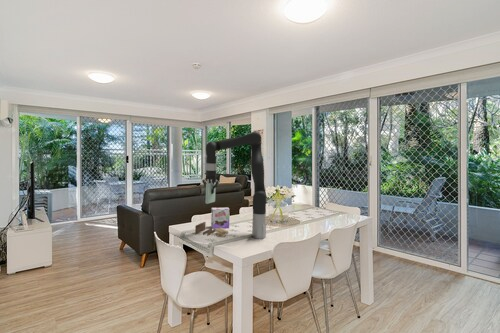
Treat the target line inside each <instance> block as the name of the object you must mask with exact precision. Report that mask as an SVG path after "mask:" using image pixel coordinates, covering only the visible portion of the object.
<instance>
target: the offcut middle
mask: <svg viewBox="0 0 500 333" xmlns="http://www.w3.org/2000/svg"><path fill="white" fill-rule="evenodd" d="M225 236H226V234H223V235H222V234H220V233H218V232H217V237H218V238H221V237H222V238H223V237H225Z"/></svg>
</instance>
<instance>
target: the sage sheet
mask: <svg viewBox="0 0 500 333" xmlns="http://www.w3.org/2000/svg"><path fill="white" fill-rule="evenodd" d="M206 183H207V182H206ZM215 184H216V182H215ZM216 189H217V187H216V188H214V193H213V194H211V183H207V184H206V187H205V204H206V205H208V204H212V203H215V202H216Z"/></svg>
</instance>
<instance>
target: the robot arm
mask: <svg viewBox="0 0 500 333" xmlns="http://www.w3.org/2000/svg"><path fill="white" fill-rule="evenodd" d="M244 145H245V146H246V145H250V171H251V177H252V181H253V184H254V185H253V186H254V187H253V188H254V189H253V190H254V191H253V196H252V226H251V227H252V229H251V230H252V232H251V237H252V238H253V239H256V240H257V239H258V240H259V239H260V240H261V239H262V240H263V239H265V238H266V237H267V235H266V234H267V223H266V218H267V217H266V215H267V210H266V208H267V193H266V187H265V165H264V159H263V153H262V135H261V133H260V132H258V131H251V132H250V133H247V134H245V135H241V136H235V137H230V138H225V139H220V140H216V141H208V142H207V143H206V146H205V154H206V165H205V178H204V179H202V180H201V181H202V183H203V186H204V187H205V188H206V184H207V183H211V194H213V193H214V188H216V189H217V188H218V186H219V184H220V180H218V179H217V156H216V155H217V154H216V152H218V151H221V150H227V149H232V148H235V147H239V146H244ZM215 183H216V184H215Z"/></svg>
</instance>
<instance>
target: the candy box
mask: <svg viewBox="0 0 500 333" xmlns="http://www.w3.org/2000/svg"><path fill="white" fill-rule="evenodd" d="M230 212H231V211H230V208H229V207H211V214H210V215H211V217H210V218H211V219H210V229H211V228H212V230H214V229H216V228H223V229H230Z"/></svg>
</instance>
